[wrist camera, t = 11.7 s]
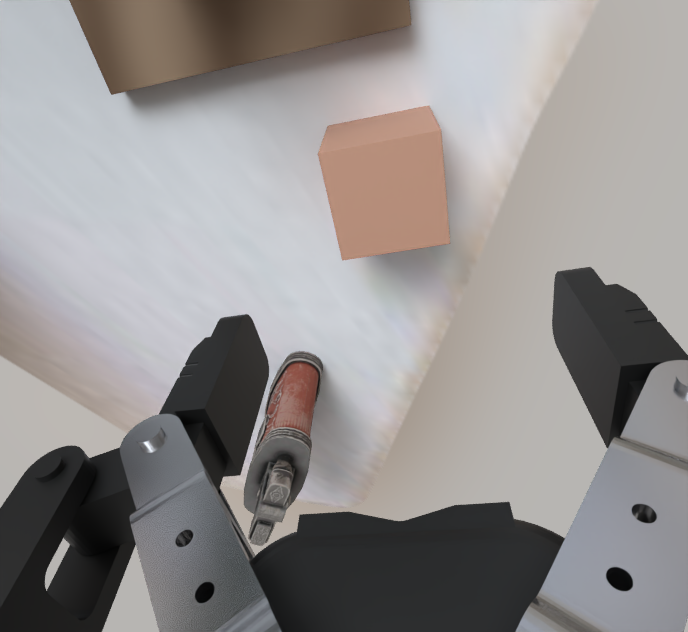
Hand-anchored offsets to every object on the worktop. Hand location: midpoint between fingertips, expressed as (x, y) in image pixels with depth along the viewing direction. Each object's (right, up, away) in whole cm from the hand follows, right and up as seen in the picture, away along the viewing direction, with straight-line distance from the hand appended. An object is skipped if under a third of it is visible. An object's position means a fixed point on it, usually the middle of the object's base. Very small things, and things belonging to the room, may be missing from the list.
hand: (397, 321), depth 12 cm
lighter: (-5, -5, +22) cm, 23 cm away
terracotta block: (+1, +8, +12) cm, 14 cm away
